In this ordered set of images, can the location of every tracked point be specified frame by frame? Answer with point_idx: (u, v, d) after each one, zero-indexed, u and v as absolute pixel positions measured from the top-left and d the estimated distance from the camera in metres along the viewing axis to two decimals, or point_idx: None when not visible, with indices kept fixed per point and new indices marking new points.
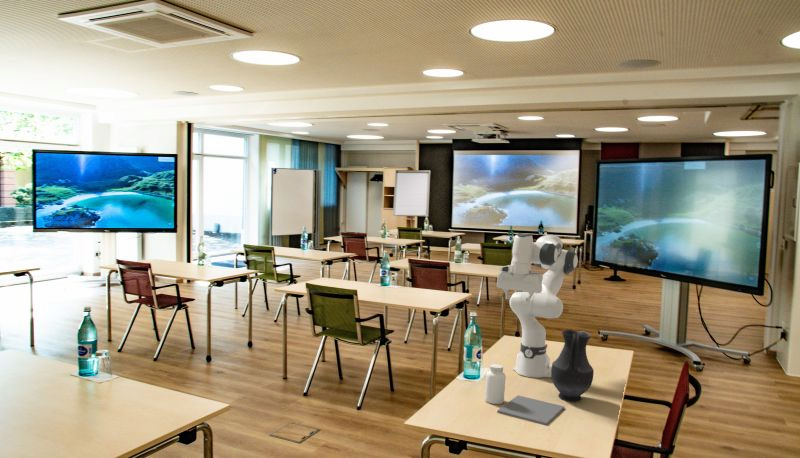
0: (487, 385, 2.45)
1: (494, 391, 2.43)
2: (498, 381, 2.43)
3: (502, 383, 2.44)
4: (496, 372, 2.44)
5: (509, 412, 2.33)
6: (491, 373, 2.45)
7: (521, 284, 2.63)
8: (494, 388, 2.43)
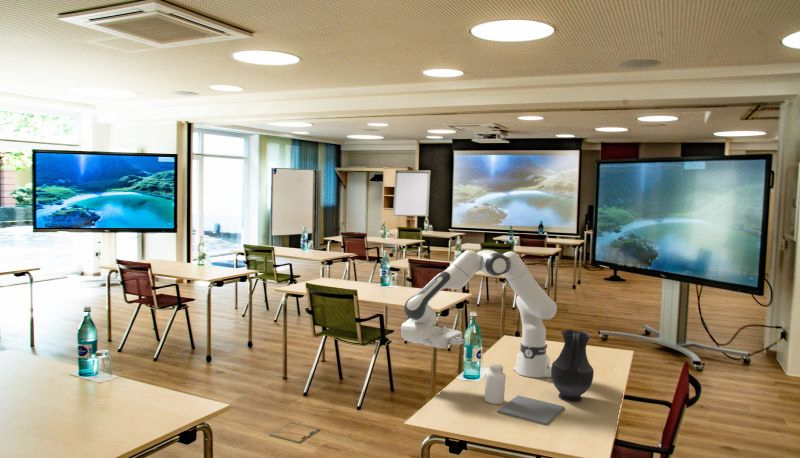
0: (487, 385, 2.45)
1: (494, 391, 2.43)
2: (498, 381, 2.43)
3: (502, 383, 2.44)
4: (496, 372, 2.44)
5: (509, 412, 2.33)
6: (491, 373, 2.45)
7: None
8: (494, 388, 2.43)
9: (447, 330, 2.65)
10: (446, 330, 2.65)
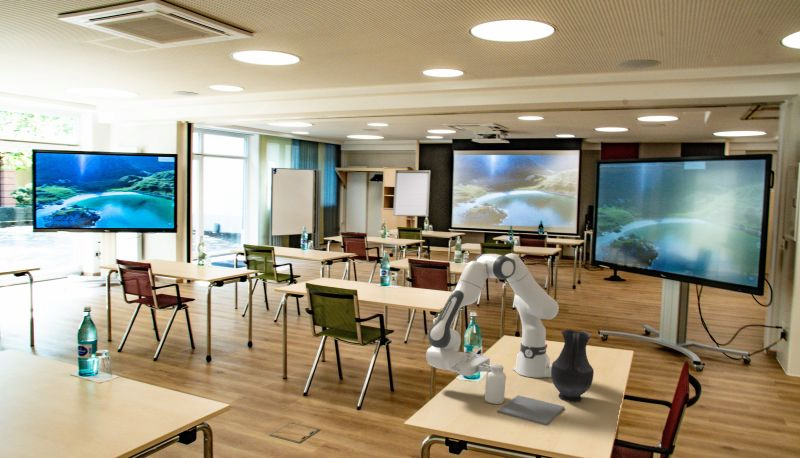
0: (487, 385, 2.45)
1: (494, 391, 2.43)
2: (498, 381, 2.43)
3: (502, 383, 2.44)
4: (496, 372, 2.44)
5: (509, 412, 2.33)
6: (491, 373, 2.45)
7: None
8: (494, 387, 2.43)
9: (474, 356, 2.59)
10: (473, 356, 2.58)
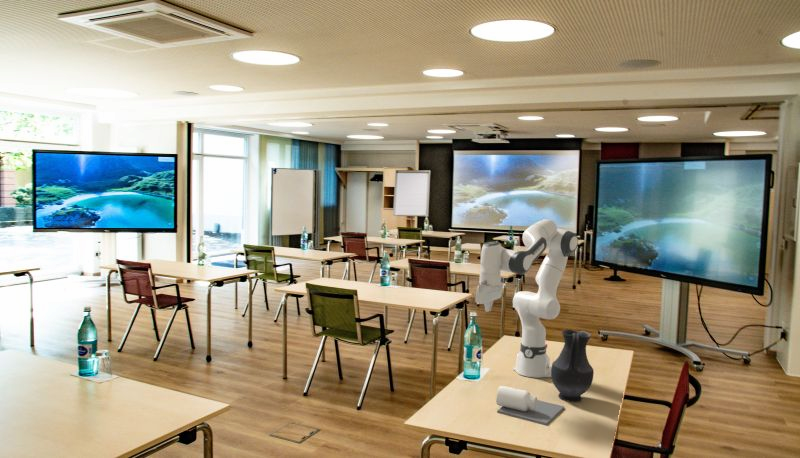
0: (513, 407, 2.35)
1: None
2: None
3: None
4: None
5: (509, 412, 2.33)
6: (526, 409, 2.34)
7: None
8: None
9: (499, 285, 2.61)
10: (499, 285, 2.60)
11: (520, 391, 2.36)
